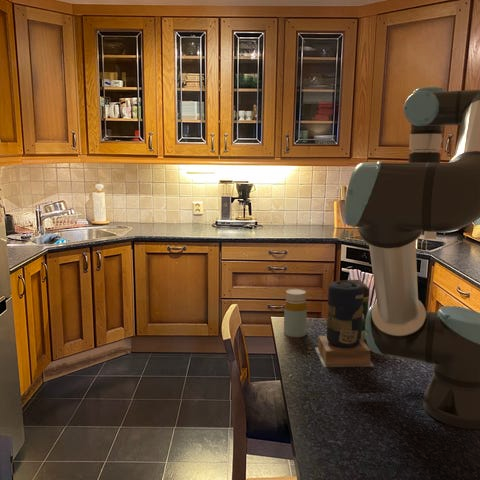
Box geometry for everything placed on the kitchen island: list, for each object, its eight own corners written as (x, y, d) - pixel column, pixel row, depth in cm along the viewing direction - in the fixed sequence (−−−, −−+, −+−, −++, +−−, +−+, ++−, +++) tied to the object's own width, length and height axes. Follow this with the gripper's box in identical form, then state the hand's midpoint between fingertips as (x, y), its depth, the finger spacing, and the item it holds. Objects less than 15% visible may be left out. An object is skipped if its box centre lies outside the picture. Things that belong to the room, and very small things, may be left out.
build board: (377, 377, 126) (378, 372, 126) (321, 378, 126) (321, 373, 125) (359, 349, 144) (359, 344, 144) (309, 349, 143) (309, 345, 143)
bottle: (309, 335, 154) (310, 290, 151) (300, 343, 148) (301, 296, 146) (290, 331, 158) (290, 287, 155) (280, 338, 152) (280, 292, 149)
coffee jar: (336, 333, 156) (338, 277, 153) (361, 332, 157) (363, 277, 153) (344, 345, 147) (346, 286, 143) (370, 344, 147) (373, 285, 144)
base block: (370, 364, 130) (370, 350, 130) (325, 365, 130) (326, 351, 129) (359, 348, 141) (359, 335, 140) (318, 348, 141) (318, 335, 140)
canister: (339, 333, 141) (341, 274, 138) (367, 342, 135) (370, 280, 131) (319, 342, 135) (321, 280, 131) (348, 352, 128) (351, 287, 125)
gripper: (463, 151, 110) (455, 242, 114) (420, 151, 135) (415, 226, 139) (430, 151, 110) (424, 243, 114) (393, 151, 135) (389, 226, 139)
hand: (419, 234), depth 126 cm, fingers open, 13 cm apart
